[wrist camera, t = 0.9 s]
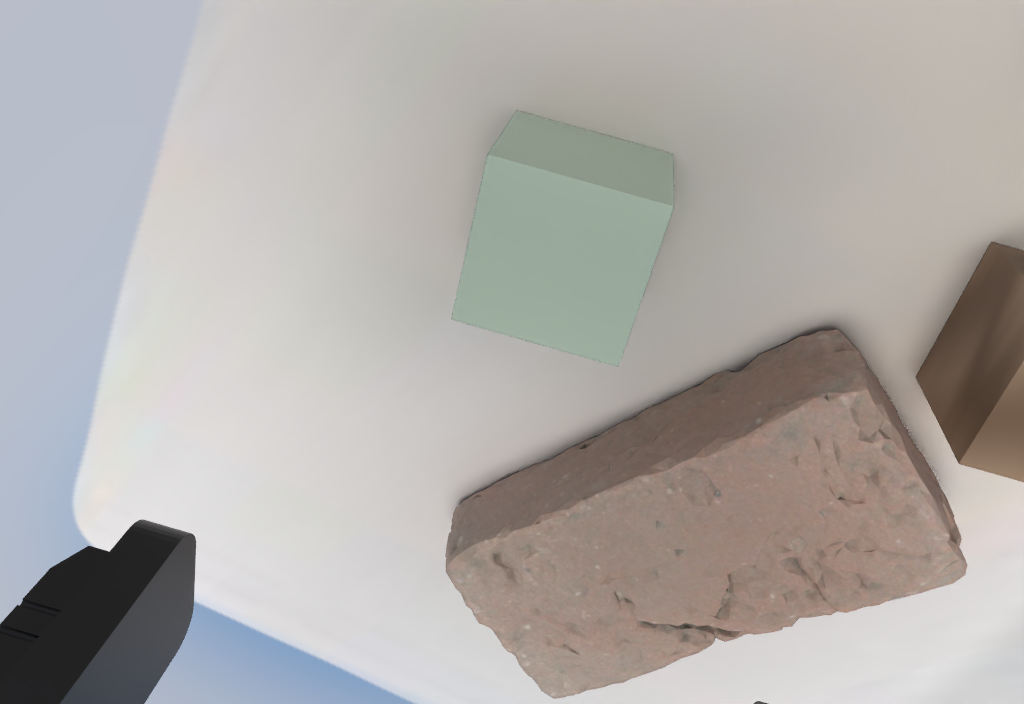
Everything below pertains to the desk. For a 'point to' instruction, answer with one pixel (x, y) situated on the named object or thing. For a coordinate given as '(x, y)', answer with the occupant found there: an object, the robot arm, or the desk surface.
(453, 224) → the desk surface
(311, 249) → the desk surface
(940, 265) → the desk surface
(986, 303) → the walnut block
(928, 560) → the brick
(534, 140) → the green block
